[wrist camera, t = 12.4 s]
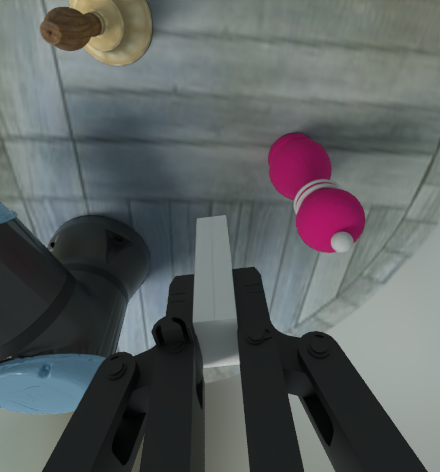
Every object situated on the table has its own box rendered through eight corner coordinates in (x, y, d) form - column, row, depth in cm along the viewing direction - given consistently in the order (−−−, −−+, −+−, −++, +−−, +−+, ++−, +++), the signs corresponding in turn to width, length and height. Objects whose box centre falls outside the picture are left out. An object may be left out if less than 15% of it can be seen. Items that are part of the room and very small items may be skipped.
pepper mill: (280, 120, 39) (333, 198, 23) (329, 140, 41) (411, 226, 24) (255, 170, 43) (285, 268, 27) (301, 187, 45) (355, 289, 28)
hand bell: (162, 57, 35) (136, 85, 22) (90, 73, 35) (23, 109, 22) (137, -41, 30) (84, -81, 17) (54, -21, 30) (-58, -45, 17)
